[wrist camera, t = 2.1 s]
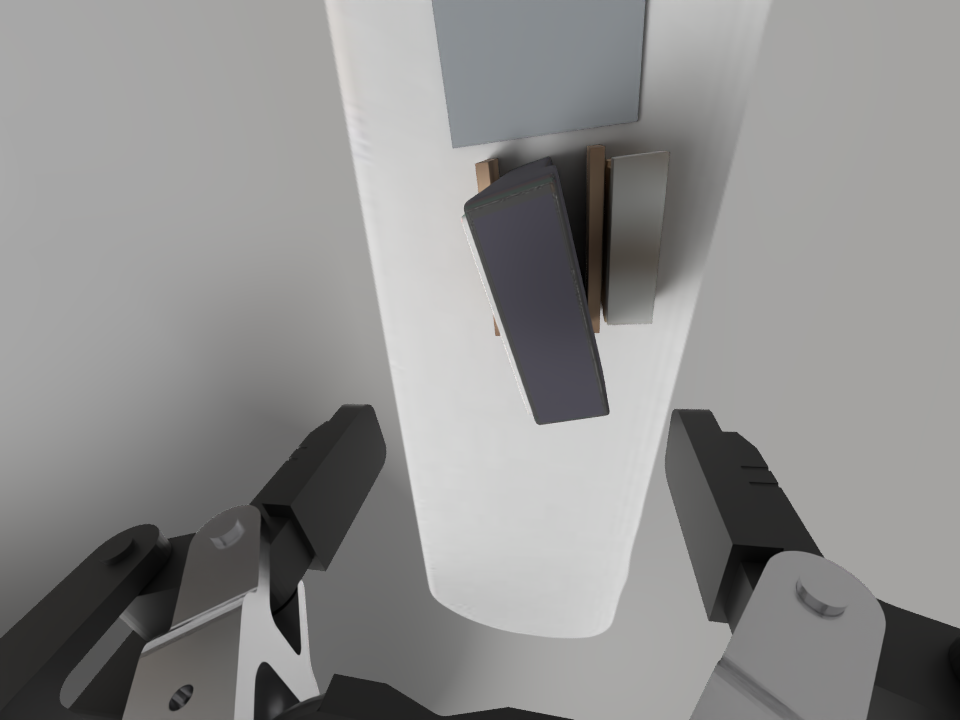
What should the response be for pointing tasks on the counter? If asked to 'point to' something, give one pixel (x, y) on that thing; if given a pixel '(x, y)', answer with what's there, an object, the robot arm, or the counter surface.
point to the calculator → (537, 292)
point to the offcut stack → (632, 235)
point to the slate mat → (538, 66)
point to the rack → (594, 222)
